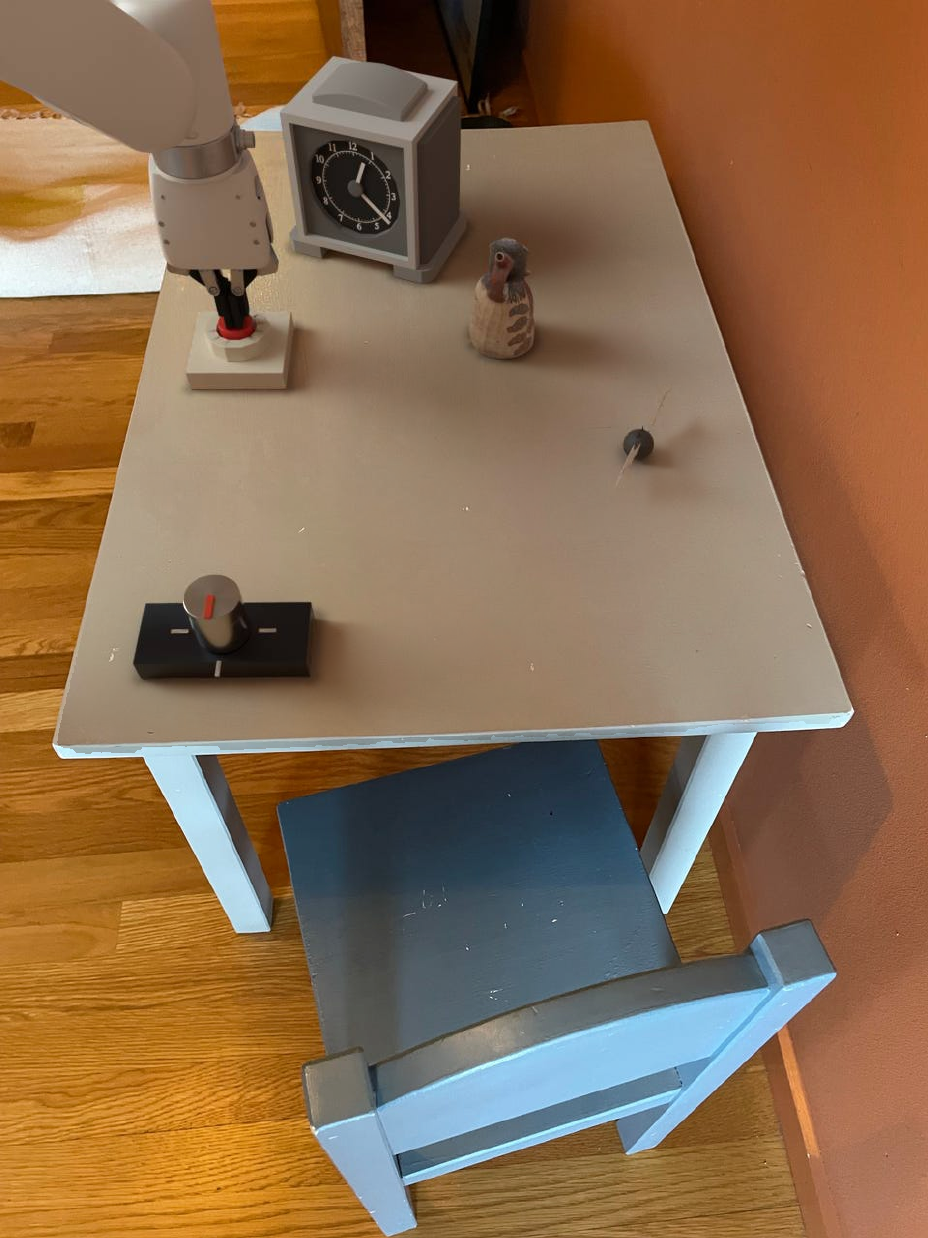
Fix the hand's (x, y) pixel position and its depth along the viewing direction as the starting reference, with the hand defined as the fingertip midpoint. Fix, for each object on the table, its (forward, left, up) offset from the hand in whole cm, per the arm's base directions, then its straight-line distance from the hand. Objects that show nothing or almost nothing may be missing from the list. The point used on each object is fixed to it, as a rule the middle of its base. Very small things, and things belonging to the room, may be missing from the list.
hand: (236, 319), depth 94 cm
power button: (0, 0, -2) cm, 2 cm away
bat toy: (+41, -15, -5) cm, 43 cm away
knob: (+3, -37, -2) cm, 37 cm away
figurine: (+28, +3, -5) cm, 29 cm away
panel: (+3, -37, -5) cm, 37 cm away
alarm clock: (+14, +22, -5) cm, 26 cm away
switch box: (0, 0, -5) cm, 5 cm away
